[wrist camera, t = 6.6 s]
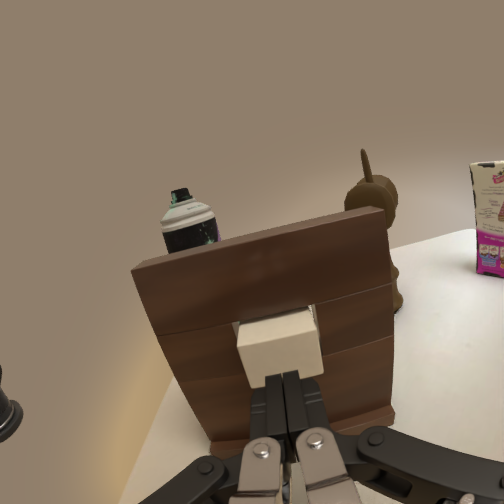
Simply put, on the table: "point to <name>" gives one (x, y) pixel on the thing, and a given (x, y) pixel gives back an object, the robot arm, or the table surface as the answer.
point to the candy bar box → (489, 216)
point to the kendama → (380, 196)
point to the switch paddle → (279, 345)
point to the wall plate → (274, 301)
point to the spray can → (188, 223)
